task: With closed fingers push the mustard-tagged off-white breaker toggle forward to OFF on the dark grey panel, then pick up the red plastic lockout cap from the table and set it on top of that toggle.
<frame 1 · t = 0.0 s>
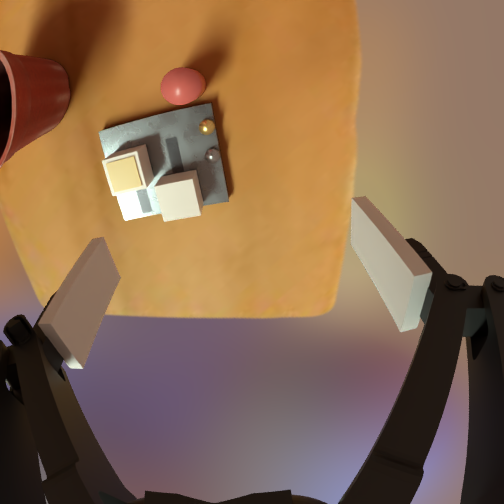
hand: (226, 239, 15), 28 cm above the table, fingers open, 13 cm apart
flower pot: (40, 95, 32), on the table
panel: (164, 162, 40), on the table
lockout cap: (189, 85, 35), on the table
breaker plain: (180, 195, 39), point 4 cm above the table, slide at 5.0 cm
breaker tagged: (128, 169, 36), point 4 cm above the table, slide at 0.0 cm
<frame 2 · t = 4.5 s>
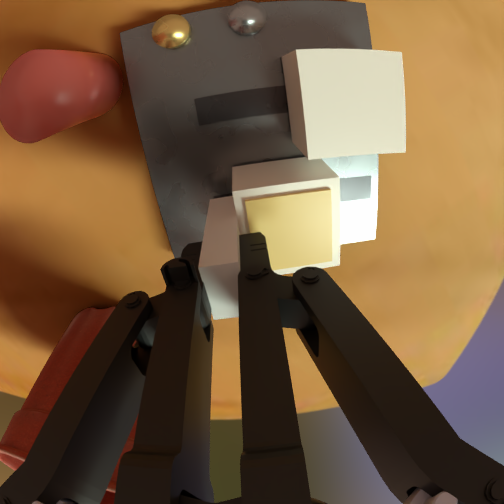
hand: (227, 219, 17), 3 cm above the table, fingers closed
flower pot: (124, 346, 28), on the table
panel: (261, 131, 18), on the table
lockout cap: (92, 85, 15), on the table
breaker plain: (342, 98, 13), point 4 cm above the table, slide at 5.0 cm
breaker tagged: (285, 214, 16), point 4 cm above the table, slide at 1.4 cm, touching gripper
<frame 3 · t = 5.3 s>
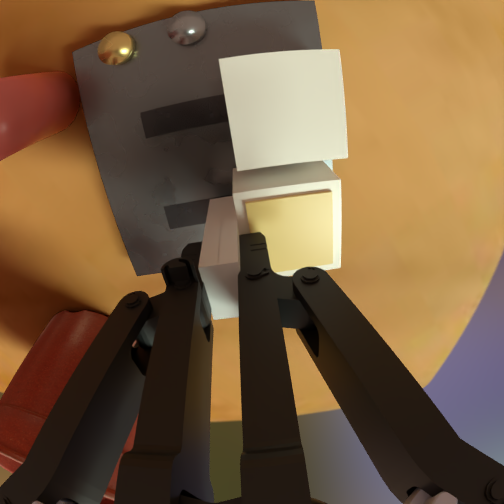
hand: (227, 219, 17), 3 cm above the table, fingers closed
flower pot: (98, 348, 28), on the table
panel: (210, 140, 18), on the table
lockout cap: (53, 102, 15), on the table
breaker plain: (281, 104, 13), point 4 cm above the table, slide at 5.0 cm
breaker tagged: (286, 216, 16), point 4 cm above the table, slide at 4.6 cm, touching gripper
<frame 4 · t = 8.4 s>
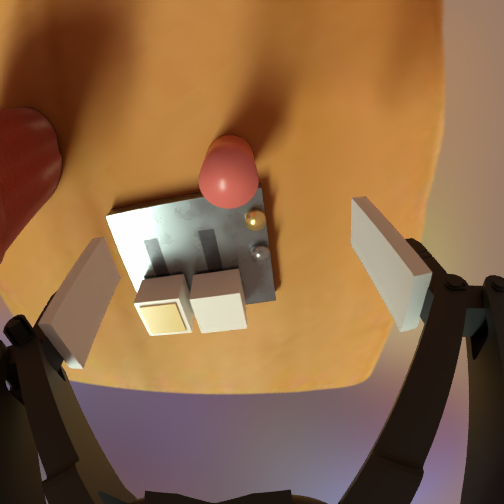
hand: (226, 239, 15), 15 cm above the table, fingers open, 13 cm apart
flower pot: (23, 156, 25), on the table
panel: (196, 253, 33), on the table
lockout cap: (229, 157, 28), on the table
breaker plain: (219, 301, 32), point 4 cm above the table, slide at 5.0 cm
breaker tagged: (166, 306, 32), point 4 cm above the table, slide at 4.7 cm
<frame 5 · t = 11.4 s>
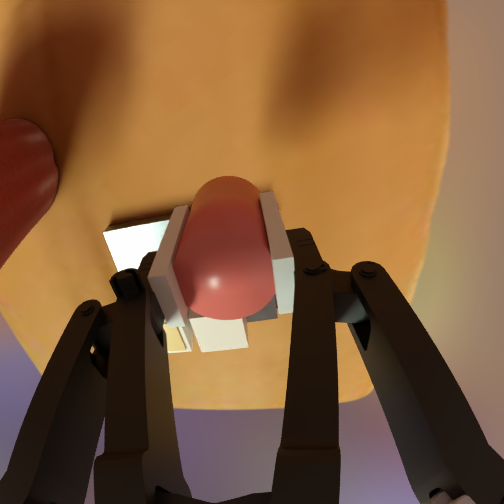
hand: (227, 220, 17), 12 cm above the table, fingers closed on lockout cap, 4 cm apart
flower pot: (19, 169, 25), on the table
panel: (195, 271, 32), on the table
lockout cap: (228, 210, 18), point 10 cm above the table, touching gripper
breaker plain: (220, 320, 31), point 4 cm above the table, slide at 5.0 cm
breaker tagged: (165, 324, 31), point 4 cm above the table, slide at 4.7 cm
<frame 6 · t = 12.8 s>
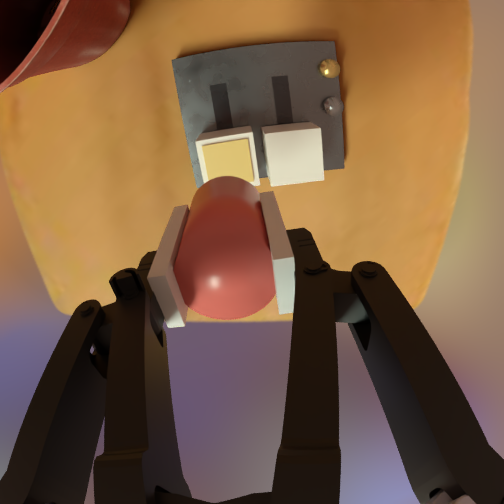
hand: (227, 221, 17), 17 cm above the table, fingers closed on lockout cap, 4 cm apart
flower pot: (82, 17, 21), on the table
panel: (262, 110, 29), on the table
lockout cap: (227, 210, 18), point 15 cm above the table, touching gripper
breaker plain: (291, 152, 28), point 4 cm above the table, slide at 5.0 cm
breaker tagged: (228, 157, 28), point 4 cm above the table, slide at 4.7 cm
when the fingers open (7 cm above the table, at t = 14.9 s): lockout cap stays where it is, resting on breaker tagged.
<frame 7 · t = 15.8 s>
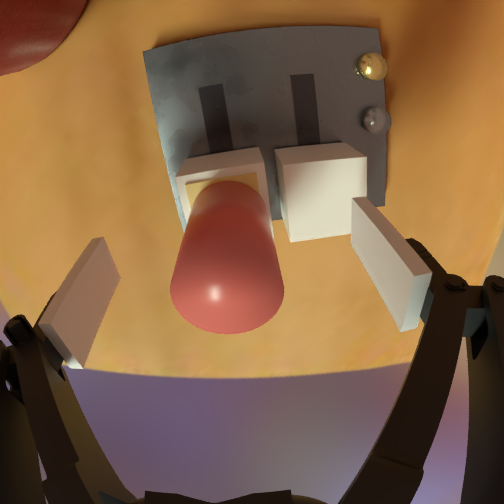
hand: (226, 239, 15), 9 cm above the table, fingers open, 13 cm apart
flower pot: (33, 5, 13), on the table
panel: (275, 123, 20), on the table
lockout cap: (228, 216, 18), point 6 cm above the table, touching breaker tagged
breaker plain: (319, 188, 19), point 4 cm above the table, slide at 5.0 cm
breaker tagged: (227, 197, 19), point 4 cm above the table, slide at 4.7 cm, touching lockout cap
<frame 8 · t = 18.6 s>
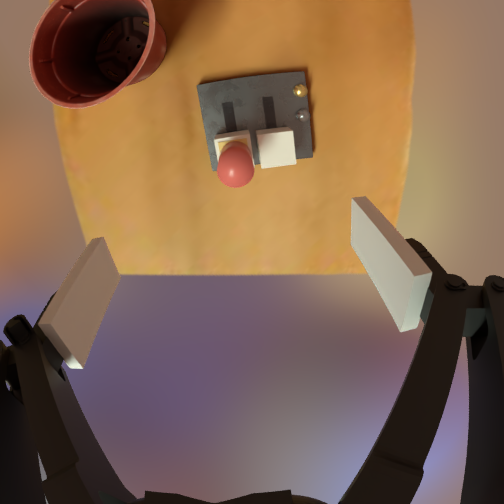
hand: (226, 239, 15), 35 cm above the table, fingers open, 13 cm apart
flower pot: (130, 48, 36), on the table
panel: (256, 119, 44), on the table
lockout cap: (235, 156, 41), point 6 cm above the table, touching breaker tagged
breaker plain: (275, 146, 43), point 4 cm above the table, slide at 5.0 cm
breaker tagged: (234, 150, 43), point 4 cm above the table, slide at 4.7 cm, touching lockout cap
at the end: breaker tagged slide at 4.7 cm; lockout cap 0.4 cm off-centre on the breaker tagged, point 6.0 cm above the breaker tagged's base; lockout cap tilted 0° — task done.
